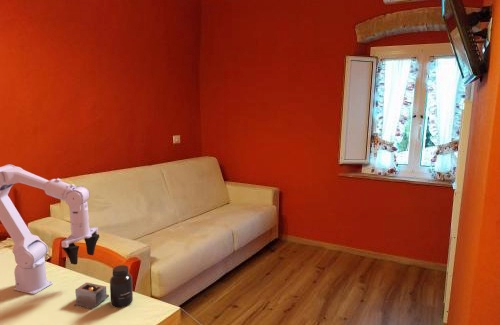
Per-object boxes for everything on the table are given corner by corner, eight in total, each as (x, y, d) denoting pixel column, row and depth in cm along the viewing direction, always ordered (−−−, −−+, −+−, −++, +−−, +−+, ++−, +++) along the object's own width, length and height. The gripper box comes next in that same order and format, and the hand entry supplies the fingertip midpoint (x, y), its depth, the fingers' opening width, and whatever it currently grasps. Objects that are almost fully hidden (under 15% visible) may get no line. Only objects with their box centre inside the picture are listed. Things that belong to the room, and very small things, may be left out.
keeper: (73, 305, 112) (72, 292, 111) (92, 292, 119) (91, 280, 119) (91, 309, 110) (90, 296, 109) (108, 296, 117) (108, 283, 116)
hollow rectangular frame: (76, 300, 113) (75, 289, 113) (87, 293, 118) (86, 282, 117) (96, 305, 111) (95, 293, 110) (106, 297, 115) (106, 286, 115)
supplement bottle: (125, 309, 110) (123, 274, 108) (106, 307, 111) (104, 272, 109) (137, 298, 116) (135, 264, 114) (118, 295, 118) (116, 262, 116)
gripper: (72, 230, 111) (75, 270, 114) (104, 216, 125) (106, 252, 127) (55, 227, 113) (58, 266, 116) (88, 214, 127) (90, 249, 129)
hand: (82, 259), depth 122 cm, fingers open, 7 cm apart
